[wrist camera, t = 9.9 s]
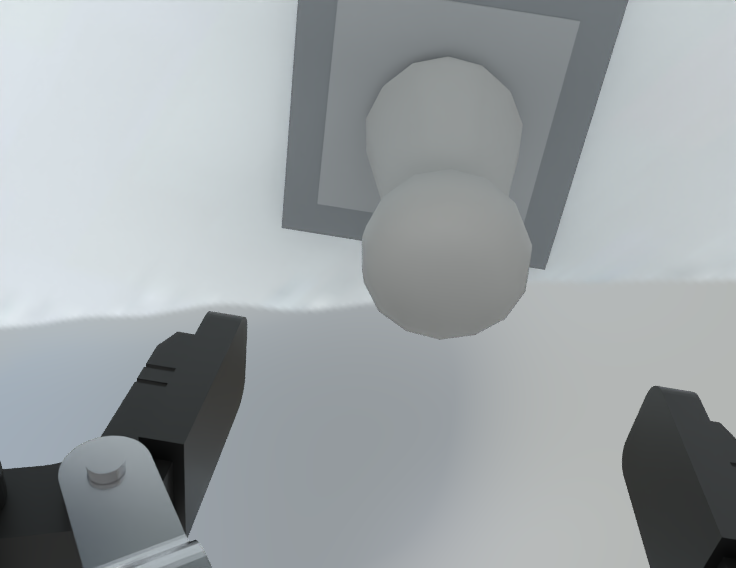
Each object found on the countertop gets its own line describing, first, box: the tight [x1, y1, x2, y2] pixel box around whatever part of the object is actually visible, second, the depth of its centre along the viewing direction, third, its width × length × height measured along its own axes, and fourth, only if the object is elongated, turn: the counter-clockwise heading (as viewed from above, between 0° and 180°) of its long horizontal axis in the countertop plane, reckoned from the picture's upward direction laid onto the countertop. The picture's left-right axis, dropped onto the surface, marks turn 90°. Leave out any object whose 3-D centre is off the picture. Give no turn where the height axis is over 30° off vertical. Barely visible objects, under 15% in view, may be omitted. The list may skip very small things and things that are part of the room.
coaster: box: [282, 0, 628, 270], centre depth 28 cm, size 12×12×1 cm
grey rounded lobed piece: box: [362, 56, 532, 339], centre depth 22 cm, size 6×6×13 cm
